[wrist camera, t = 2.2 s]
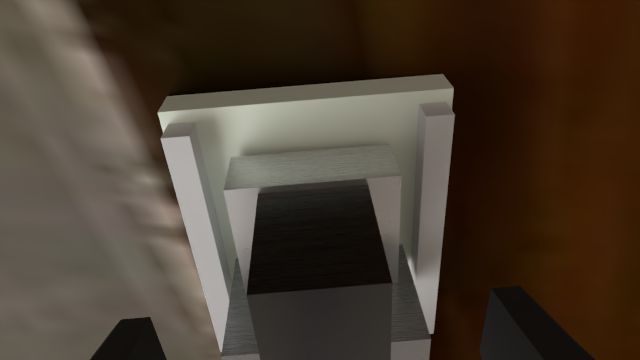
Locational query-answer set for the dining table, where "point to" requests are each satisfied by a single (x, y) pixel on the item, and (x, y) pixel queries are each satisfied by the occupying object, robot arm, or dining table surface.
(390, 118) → the bed
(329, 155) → the grey boxy piece
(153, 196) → the dining table surface
